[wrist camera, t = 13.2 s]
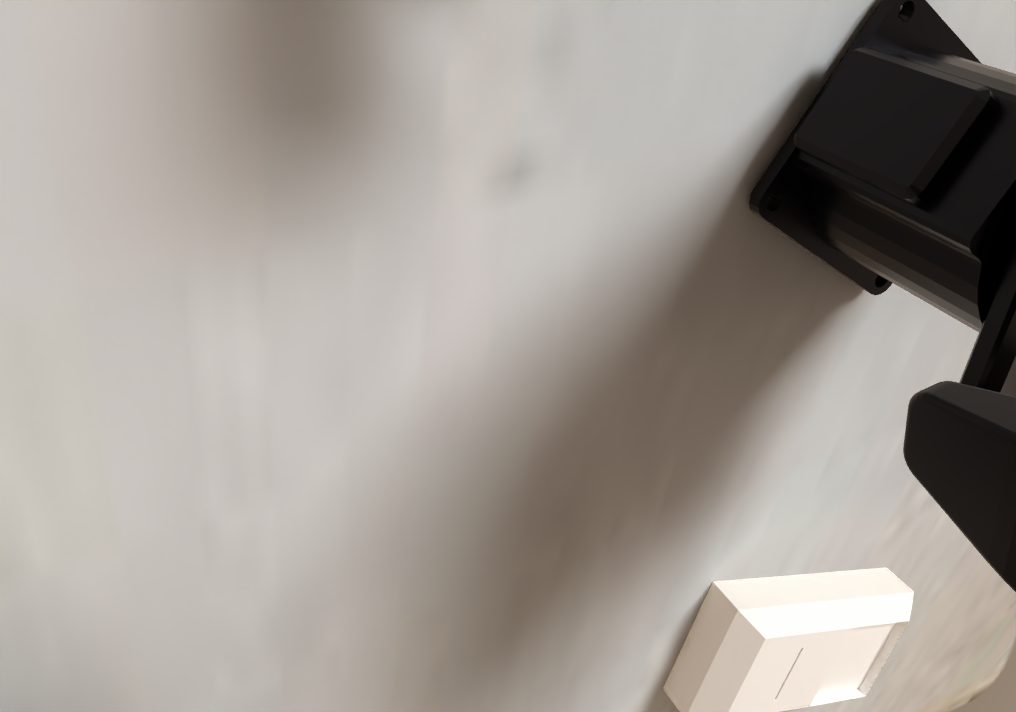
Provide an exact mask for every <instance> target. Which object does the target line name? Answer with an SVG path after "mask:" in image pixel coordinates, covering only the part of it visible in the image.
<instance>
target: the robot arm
mask: <svg viewBox="0 0 1016 712" xmlns="http://www.w3.org/2000/svg"><path fill="white" fill-rule="evenodd" d="M902 4H903V5H902ZM901 5H902V10H901V12H900V14H899V15H898V13H899V9H900V7H901ZM772 194H773V197H772V199H771V201H770V202H769V203H768V204H767V201H768V199H769V197H770V196H771V195H772ZM749 204H750V209H751V210H752V211H753V213H755V214H756V215H757V216H759V217H760V218H762V219H763V220H765V221H766V222H767V223H769V224H770V225H772V226H773V227H775V228H776V229H778V230H779V231H780V232H782V233H783V234H785V235H786V236H788V237H789V238H790V239H792V240H793V241H795V242H796V243H798V244H799V245H800V246H802V247H803V248H805V249H806V250H808V251H809V252H811V253H812V254H813V255H815V256H816V257H818V258H819V259H821V260H822V261H823V262H825V263H826V264H828V265H829V266H831V267H832V268H834V269H835V270H836V271H838V272H839V273H841V274H842V275H844V276H845V277H846V278H848V279H849V280H851V281H852V282H854V283H855V284H857V285H858V286H859V287H861V288H862V289H864V290H866V291H867V292H869V293H871V294H873V295H879V294H881V293H883V292H885V291H886V290H887V289H888V288H889V287H890V286H891V284H892V283H894V284H896V285H898V286H899V287H901V288H903V289H904V290H906V291H908V292H910V293H911V294H913V295H915V296H917V297H918V298H920V299H922V300H924V301H925V302H927V303H929V304H931V305H932V306H934V307H936V308H938V309H939V310H941V311H943V312H945V313H946V314H948V315H950V316H952V317H953V318H955V319H957V320H958V321H960V322H962V323H964V324H965V325H967V326H969V327H971V328H972V329H974V330H976V331H978V332H979V335H978V337H977V340H976V342H975V345H974V347H973V350H972V352H971V355H970V357H969V360H968V362H967V365H966V367H965V370H964V372H963V375H962V377H961V380H960V382H959V383H957V382H951V381H944V382H940V383H937V384H935V385H933V386H930V387H928V388H926V389H924V390H922V391H920V392H918V393H916V394H915V395H913V397H912V398H911V400H910V402H909V406H908V414H907V422H906V431H905V439H904V447H903V453H904V458H905V461H906V463H907V466H908V467H909V469H910V471H911V472H912V474H913V475H914V476H915V477H916V478H917V480H918V481H919V482H920V483H921V484H922V485H923V487H924V488H925V489H926V490H927V491H928V493H929V494H930V495H931V496H932V497H933V498H934V500H935V501H936V502H937V503H938V504H939V505H940V507H941V508H942V509H943V510H944V511H945V513H946V514H947V515H948V516H949V517H950V518H951V520H952V521H953V522H954V523H955V524H956V526H957V527H958V528H959V529H960V530H961V531H962V533H963V534H964V535H965V536H966V537H967V538H968V540H969V541H970V542H971V543H972V544H973V546H974V547H975V548H976V549H977V550H978V551H979V553H980V554H981V555H982V556H983V557H984V558H985V560H986V561H987V562H988V563H989V564H990V565H991V566H992V568H993V569H994V570H995V571H996V572H997V573H998V574H999V575H1000V576H1001V578H1002V579H1003V580H1004V581H1005V582H1006V583H1007V584H1008V585H1009V586H1010V587H1011V588H1012V589H1013V590H1014V591H1015V592H1016V74H1014V73H1010V72H1007V71H1004V70H1000V69H997V68H994V67H991V66H987V65H984V64H981V62H980V61H979V60H978V59H977V58H976V57H975V56H974V55H973V53H972V52H971V51H970V50H969V49H968V48H967V47H966V46H965V44H964V43H963V42H962V41H961V40H960V39H959V38H958V37H957V35H956V34H955V33H954V32H953V31H952V30H951V29H950V28H949V26H948V25H947V24H946V23H945V22H944V21H943V20H942V19H941V17H940V16H939V15H938V14H937V13H936V12H935V11H934V9H933V8H932V7H931V6H930V5H929V4H928V3H927V2H926V0H882V2H881V3H880V5H879V6H878V8H877V9H876V11H875V12H874V13H873V15H872V16H871V18H870V19H869V21H868V22H867V24H866V25H865V27H864V28H863V30H862V31H861V32H860V34H859V35H858V37H857V38H856V40H855V41H854V43H853V44H852V46H851V47H850V49H849V50H848V52H847V53H846V54H845V56H844V57H843V59H842V60H841V62H840V63H839V65H838V66H837V68H836V69H835V71H834V72H833V73H832V75H831V76H830V78H829V79H828V81H827V82H826V84H825V85H824V87H823V88H822V90H821V91H820V93H819V94H818V95H817V97H816V98H815V100H814V101H813V103H812V104H811V106H810V107H809V109H808V110H807V112H806V113H805V115H804V116H803V117H802V119H801V120H800V122H799V123H798V125H797V126H796V128H795V129H794V131H793V132H792V134H791V135H790V136H789V138H788V139H787V141H786V142H785V144H784V145H783V147H782V148H781V150H780V151H779V153H778V154H777V156H776V157H775V158H774V160H773V161H772V163H771V164H770V166H769V167H768V169H767V170H766V172H765V173H764V175H763V176H762V178H761V179H760V180H759V182H758V183H757V185H756V186H755V188H754V189H753V191H752V193H751V195H750V201H749Z"/></svg>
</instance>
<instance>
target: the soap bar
mask: <svg viewBox="0 0 1016 712" xmlns="http://www.w3.org/2000/svg"><path fill="white" fill-rule="evenodd" d="M913 596H914V591H912V590H911V589H910V588H909V587H908V586H907V585H906V584H905V583H903V582H902V581H901V580H900V579H899V578H898V577H897V576H896V575H895V574H893V573H892V572H891V571H890V570H889V569H888V568H875V569H862V570H850V571H838V572H825V573H813V574H801V575H788V576H776V577H764V578H752V579H739V580H727V581H715V582H712V585H711V587H710V589H709V591H708V593H707V595H706V597H705V600H704V602H703V604H702V606H701V608H700V610H699V612H698V615H697V617H696V619H695V621H694V623H693V625H692V627H691V630H690V632H689V634H688V636H687V638H686V640H685V642H684V645H683V647H682V649H681V651H680V653H679V655H678V657H677V660H676V662H675V664H674V666H673V668H672V670H671V672H670V675H669V677H668V679H667V681H666V683H665V685H664V688H663V690H664V691H665V692H666V694H667V695H668V696H669V698H670V699H671V701H672V702H673V703H674V705H675V706H676V707H677V709H678V710H679V711H680V712H781V711H787V710H792V709H798V708H804V707H809V706H815V705H821V704H826V703H832V702H837V701H843V700H849V699H854V698H860V697H865V696H866V695H867V693H868V692H869V690H870V688H871V686H872V685H873V683H874V681H875V679H876V678H877V676H878V674H879V673H880V671H881V669H882V667H883V666H884V664H885V662H886V660H887V659H888V657H889V655H890V654H891V652H892V650H893V648H894V647H895V645H896V643H897V641H898V640H899V638H900V636H901V635H902V633H903V631H904V629H905V628H906V626H907V624H908V622H909V620H910V614H911V608H912V602H913Z"/></svg>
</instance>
